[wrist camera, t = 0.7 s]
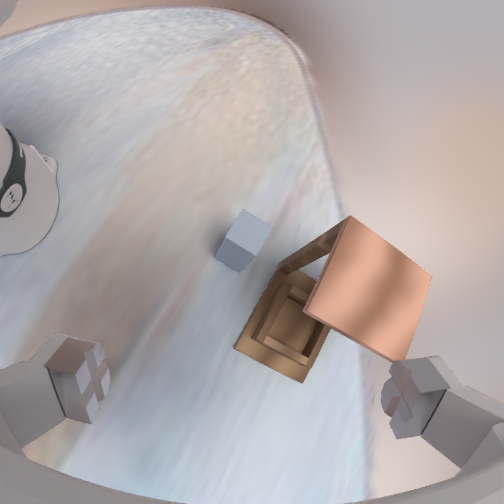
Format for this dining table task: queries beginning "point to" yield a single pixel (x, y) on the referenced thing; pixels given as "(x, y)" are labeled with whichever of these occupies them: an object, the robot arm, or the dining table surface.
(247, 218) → the peg
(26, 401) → the robot arm
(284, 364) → the wooden frame stand
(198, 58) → the dining table surface
